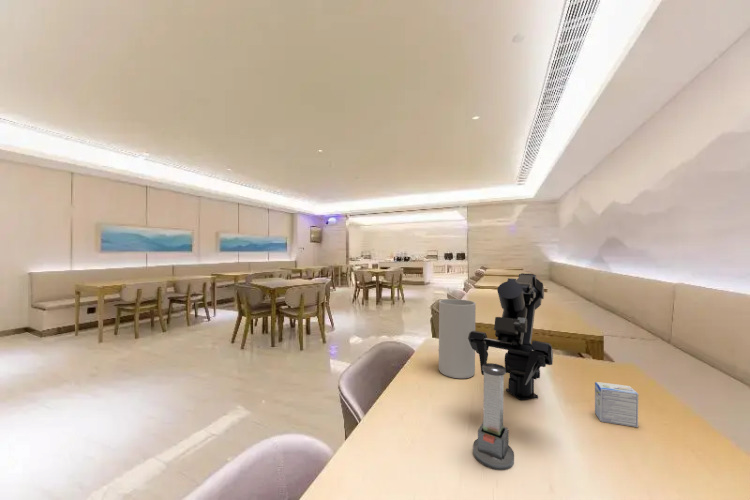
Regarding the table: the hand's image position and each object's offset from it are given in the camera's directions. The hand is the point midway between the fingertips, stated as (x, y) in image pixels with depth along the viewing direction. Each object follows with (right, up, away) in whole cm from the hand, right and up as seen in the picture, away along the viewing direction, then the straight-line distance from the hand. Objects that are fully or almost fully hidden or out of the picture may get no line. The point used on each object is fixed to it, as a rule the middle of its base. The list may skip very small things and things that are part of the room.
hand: (502, 379), depth 70 cm
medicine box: (+32, -14, +8) cm, 36 cm away
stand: (-5, -13, -6) cm, 16 cm away
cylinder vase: (-1, -14, +38) cm, 40 cm away
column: (-5, -8, -6) cm, 11 cm away
